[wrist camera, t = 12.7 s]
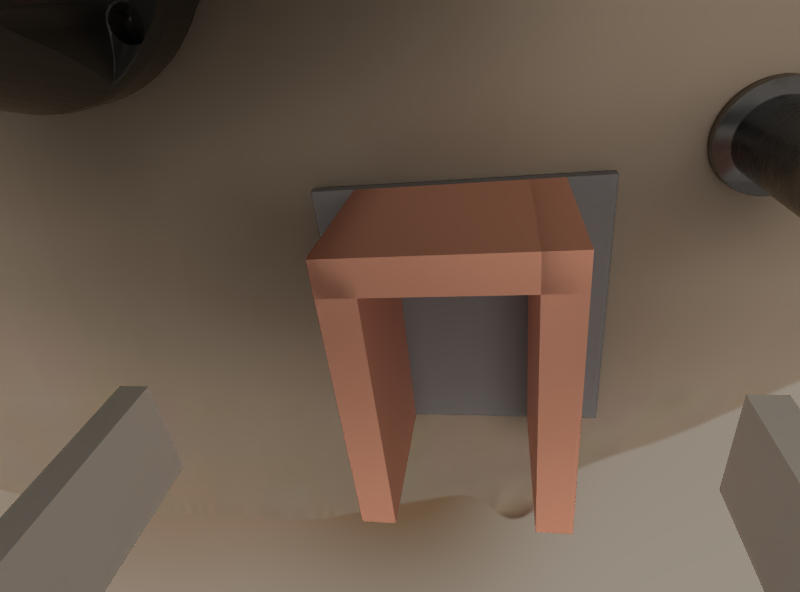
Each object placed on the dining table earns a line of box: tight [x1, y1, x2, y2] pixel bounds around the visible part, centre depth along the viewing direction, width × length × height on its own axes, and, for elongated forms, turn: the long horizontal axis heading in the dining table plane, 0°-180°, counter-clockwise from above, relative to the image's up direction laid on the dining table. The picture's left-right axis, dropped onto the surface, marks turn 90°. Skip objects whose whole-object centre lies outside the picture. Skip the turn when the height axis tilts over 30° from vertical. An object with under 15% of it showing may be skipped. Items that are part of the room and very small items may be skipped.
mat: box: [311, 170, 619, 418], centre depth 26 cm, size 13×13×1 cm
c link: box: [306, 177, 594, 534], centre depth 23 cm, size 9×13×7 cm
